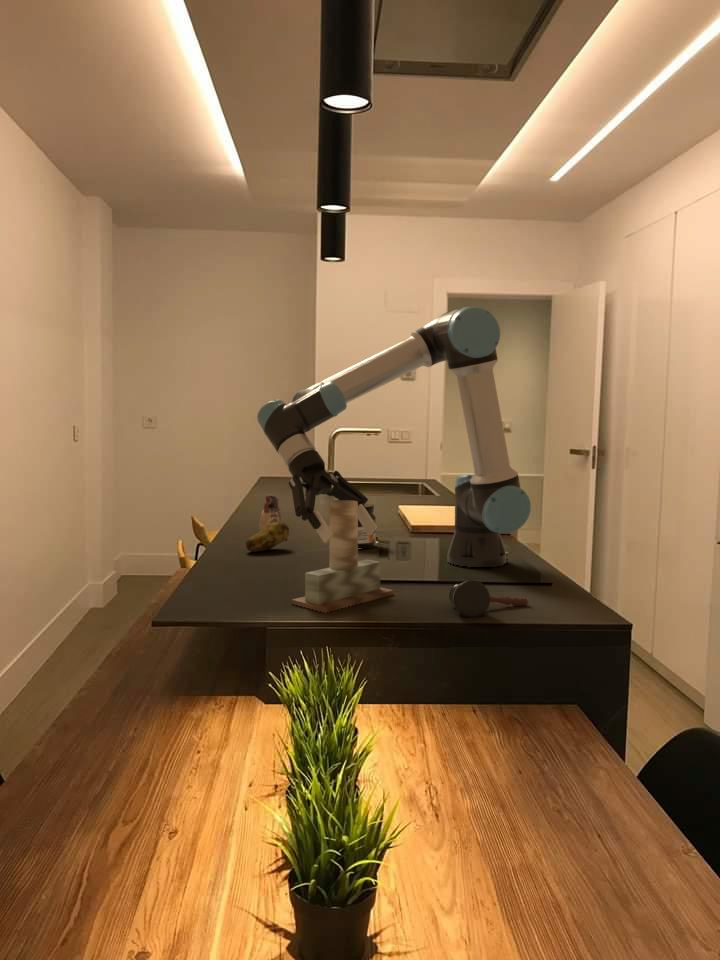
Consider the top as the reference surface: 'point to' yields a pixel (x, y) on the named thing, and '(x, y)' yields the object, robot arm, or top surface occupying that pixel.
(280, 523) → the potato
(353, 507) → the rod
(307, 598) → the stand
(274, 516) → the figurine
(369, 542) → the supplement container
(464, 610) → the coffee pot
